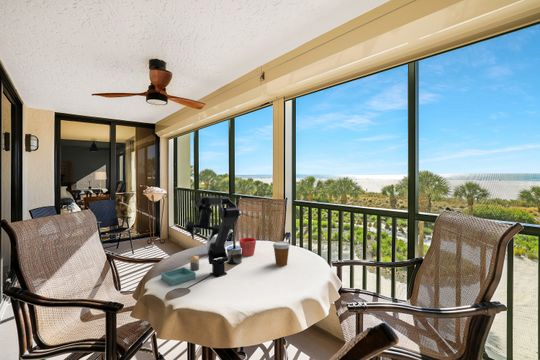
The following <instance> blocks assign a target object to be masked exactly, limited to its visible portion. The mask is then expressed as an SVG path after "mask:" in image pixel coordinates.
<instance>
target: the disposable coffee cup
mask: <svg viewBox="0 0 540 360" xmlns="http://www.w3.org/2000/svg"><path fill="white" fill-rule="evenodd" d="M272 246H273V250H274V251H273V252H274V261H275V265H276V266H277V265H279V266H278V267H285V266H284V265H286V266H287V265H288V260H289V258H288V257H289V251H290V243H289V242H287V241H281V240H280V241H275V242H273V245H272Z"/></svg>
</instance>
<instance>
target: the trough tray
mask: <svg viewBox="0 0 540 360" xmlns="http://www.w3.org/2000/svg"><path fill="white" fill-rule="evenodd" d="M160 276H161V277H160V279H161V280H162V282H164V283H166V284H168V285H169V286H171V287H174V286H178V285H181V284H184V283H188V282H190V281H193V280H196V279H197V277H196V276H197V274H196V271H191V270H190V269H189V268H187V267H185V266H183V267H179V268H176V269H172V270H167V271H164V272H161V273H160Z"/></svg>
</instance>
